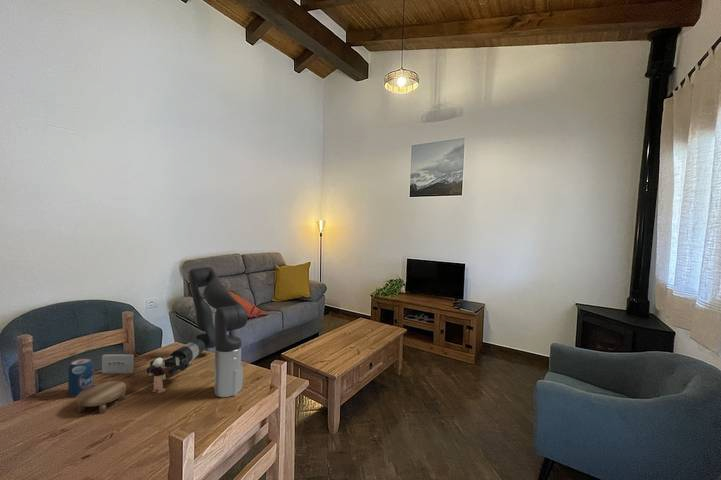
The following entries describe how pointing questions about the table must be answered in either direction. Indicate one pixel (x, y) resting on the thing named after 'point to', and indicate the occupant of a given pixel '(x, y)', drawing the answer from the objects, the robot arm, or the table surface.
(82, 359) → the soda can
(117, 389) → the beige footstool
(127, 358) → the cassette
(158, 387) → the grandmother figurine
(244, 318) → the robot arm
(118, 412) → the table surface
